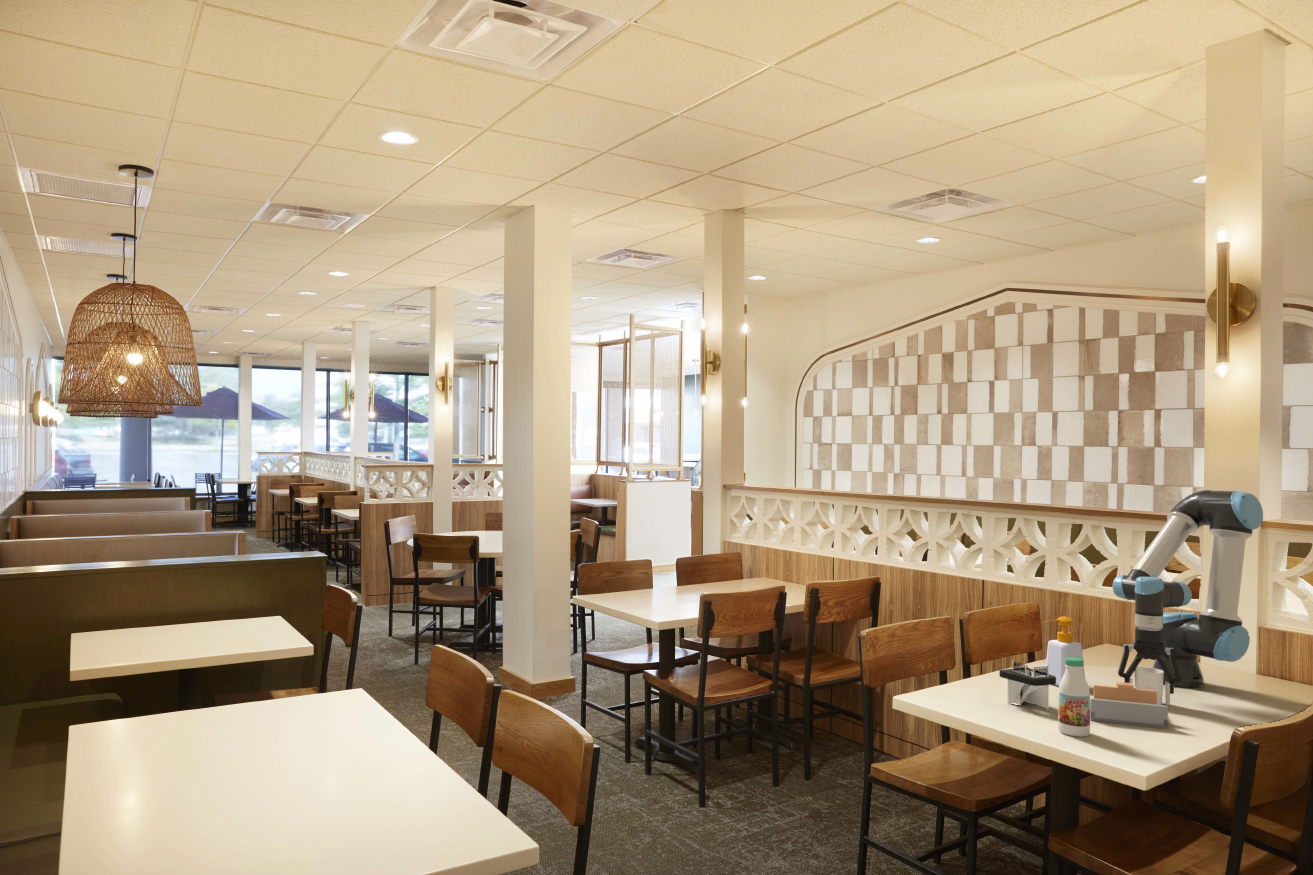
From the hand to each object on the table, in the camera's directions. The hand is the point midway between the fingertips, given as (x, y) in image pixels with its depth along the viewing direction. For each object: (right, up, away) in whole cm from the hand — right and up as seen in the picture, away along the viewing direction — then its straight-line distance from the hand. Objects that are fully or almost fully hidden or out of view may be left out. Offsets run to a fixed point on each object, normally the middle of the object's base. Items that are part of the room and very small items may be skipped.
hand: (1148, 702), depth 265 cm
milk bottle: (-37, +1, -30) cm, 47 cm away
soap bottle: (-18, -1, +20) cm, 27 cm away
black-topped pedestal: (-39, 0, -5) cm, 39 cm away
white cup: (0, 0, 0) cm, 0 cm away
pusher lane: (-15, 0, -13) cm, 20 cm away
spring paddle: (-15, +2, -15) cm, 21 cm away
